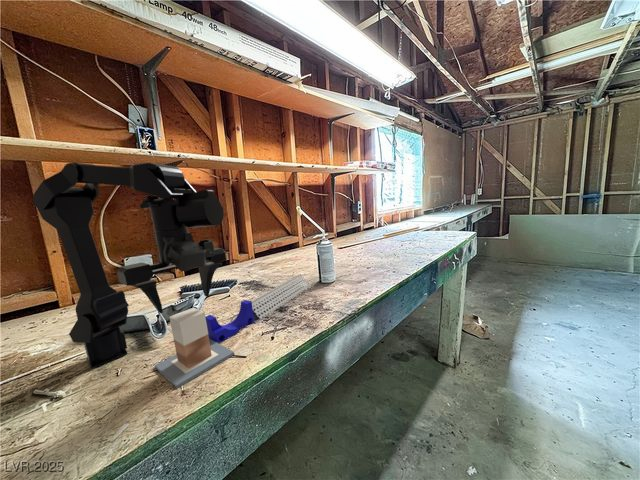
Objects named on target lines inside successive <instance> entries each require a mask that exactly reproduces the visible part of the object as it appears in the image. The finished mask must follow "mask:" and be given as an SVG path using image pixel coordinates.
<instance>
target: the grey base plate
mask: <svg viewBox="0 0 640 480" xmlns="http://www.w3.org/2000/svg"><path fill="white" fill-rule="evenodd" d="M209 342H210V348H211V354H212V356H210V357H208V358H206V359H205V360H203V361H201V362H199V363H197V364H196V365H194V366H192V367H190V368H187V367H185V366H184V365H183V364H182V363H180V362H179V361H178V359H177V354H175V355H173V356H171V357H168V358H167V359H164V360H162V361H160V362H159V363H156V364H155V365H154V368H155V370H157V371H158V372H159V373H160V374H161V375H162V376H163V377H164V378H165V379H166V380H168V382H169V383H170V384H171V385H173V386H174V387H175V388H176V389H178V388H181V387H182V386H184V385H185V384H187V383H189V382H190V381H192V380H194V379H195V378H197V377H198V376H200V375H203V374H204V373H205V372H207V371H209V370H210V369H212V368H214V367H215V366H217V365H219V364H221V363H222V362H224V361H226V360H227V359H229V358H230V357H233V356H234V355H235V351H233V350H231V349H230V348H229V347H226V346H224V345H222V344H221V343H217V342H215V341H213V340H211V339H210V338H209Z"/></svg>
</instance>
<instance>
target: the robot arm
mask: <svg viewBox="0 0 640 480" xmlns="http://www.w3.org/2000/svg"><path fill="white" fill-rule="evenodd" d="M76 184H84V185H83V187H77V186H76ZM99 185H106V186H107V185H109V186H118V187H119V186H120V187H127V188H131V189H133V190H134V191H136V192H139V193H142V194H146V197H145V199H144V200H143V202H141V203H140V204H139V208H140V209H150V216H151V219H152V220H151V221H152V225H153V230H154V236H153V239H154V242H156V246H157V251H158V256H157V260H158V262H157V263H154V264H150V263H146V262H138V263H132V264H128V265H123V266H119V268H118V269H117V272H116V273H117V274H116V275H117V278H118V282H119V283H120V284H122V285H124V286H127V287H129V286H131V287H134V288H136V289H140V290H141V291H142V293H144V294H145V296H146V297H147V298H148V300H149V301H150V303H151V304H152V306H153V307H154V308H155V309H156V310H157V312H158V313H159V314H162V313H163V312H164V311H163V305H162V301H161V299H160V296H159V292H158V290H157V289H158V288H157V280H155V279H153V276H154V275H156V274H160V273H165V272H168V271H173V270H179V271H180V272H188V271H190V270H191V269H197V268H198V273H199V277H200V284H201V289H202V292H203V295H204V297H206V298H207V297H209V296H210V291H211V287H212V282H213V278H214V275H215V273H216V270H217V269H218V268H219V267H221V266H222V265H223V262H226V261H228V256H227V252H226V250H225V249H223V248H222V247H221V248H220V247H214V246H215V245H214V243H213V240H211V239H210V238H207V239H201V240H199V241H198V242H195V240H194V238H193V234H192V232H189V228H190V229H191V228H193V229H194V228H205V227H214V226H216V227H217V226H219V225H221V224H222V222H223V220H224V214H225V213H224V207H223V206H222V204H221V201H220V200H219V199H218V198H217V197H216V196H215V191H214V190H212V189H202V190H199V191H196V189H195V188H194V187H193V186H192V185H191V184H190V183H189V181H188V180H187V179H186V178H185V176H184V173H183V172H182V171H181V169H180V168H179V167H177V166H174V165H166V164H160V163H159V164H158V163H153V162H143V163H135V164H133V165H131V166H126V167H125V166H114V165H113V166H111V165H98V164H97V165H96V164H92V163H91V164H90V163H84V162H76V161H71V162H68V163H65V165H64V166H63V168H62V169H61V170H60V171H59V172H57V173H56V174H54V175H52V176H49V177H47V178H45V179H44V180H42V181H41V183H40V184H39V186H38V187H37V188H36V190H35V192H34V193H33V194H32V201H33V204H34V206H35V207H36V209H37V211H38V212H39V216H40V217H41V218H42V220H44V221H45V222H46V223H48V224H49V225H50V226H52V227H53V228H54V229H56V230H57V233H58V234H59V237H60V240H61V243H62V245H63V248H64V251H65V254H66V257H67V260H68V263H69V265H70V268H71V272H72V274H73V276H74V279H75V282H76V285H77V288H78V290H79V294H80V295H79V298H78V301H77V302H76V303H77V304H76V306H75V314H76V319H77V320H76V321H75V323H74V325H73V326H72V328H71V330H70V332H69V333H68V335H69V337H70V339H71V341H72V342H73V343H80V344H82V343H83V345H84V350H85V353H86V359H85V360H86V361H87V364H88V365H89V367H90V368H91V369H95V368H97V367H99V366H102V365H104V364H107V363H109V362H112V361H114V360H116V359H119V358H120V357H121V358H122V357H123V356H125V355H127V354H128V350H127V349H128V345H127V339H126V336H125V333H124V331H122V330H121V328H120V327H122V326H124V325H126V324H127V319H128V314H129V306H130V304H129V303H128V301H127V300H126V295H125V292H124V291H123V290H116V289H115V288H113V287H111V286H110V283H109V281H108V278H107V275H106V271H105V269H104V266H103V263H102V260H101V257H100V255H99V251H98V248H97V245H96V243H95V240H94V236H93V233H92V230H91V228H90V224H91V220H92V218H93V215H94V207H93V203H94V202H95V201H96V199H97V198H98V197H99V193H100V192H99Z"/></svg>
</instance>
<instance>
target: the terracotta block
mask: <svg viewBox="0 0 640 480" xmlns="http://www.w3.org/2000/svg"><path fill="white" fill-rule="evenodd" d="M173 343H174V347H175V353H176V354H177V359H178V361H179V362H180V363H182V364H183V365H184V366H185V367H187V368H190V367H192V366H194V365H196V364H197V363H199V362H201V361H203V360H205V359H206V358H208V357H210V356H212V354H211V348H210V342H209V336H208V334H207V335H205V336H203V337H201V338H199V339H197V340H195V341H193V342H191V343H189V344H187V345H185V346H184V345H182V344H181V343H179V342H177V341H176V340H174V339H173ZM176 354H175V355H176Z"/></svg>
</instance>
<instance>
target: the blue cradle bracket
mask: <svg viewBox="0 0 640 480" xmlns="http://www.w3.org/2000/svg"><path fill="white" fill-rule="evenodd" d="M239 308H240V309H239V312H238V314H237V316H235V318H234V319H233V320H232V321H231V322H229V323H226V324H223V325H222V324H221V325H220V323H219V322H218V320H217V317H216V316H214V315H211V314H208V315H207V316H206V315H205V318H206V323H207V329H208V336H209V338H210V339H211V340H213V341H215V342H217V343H219V344H221V343H222V342H223V341H225V340H227V339H229V338H231V337H234V336H235V335H237V334H239V333H240V332H239V331H240V329H241V330H242V329H243V328H245V327H246V326H249V325H250V324H252V323H254V322H255V316H254V311H253V308H252V302H251V301H249V300H247V299H244V300H242V301H240V307H239Z"/></svg>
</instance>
